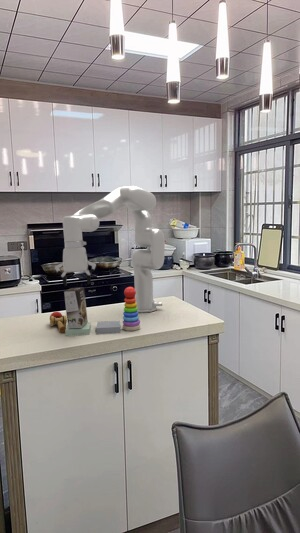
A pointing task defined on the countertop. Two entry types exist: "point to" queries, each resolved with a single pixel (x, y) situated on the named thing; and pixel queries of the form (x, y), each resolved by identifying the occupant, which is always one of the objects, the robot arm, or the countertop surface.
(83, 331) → the sage brick
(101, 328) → the grey brick
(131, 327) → the stacking toy
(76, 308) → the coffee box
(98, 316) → the countertop surface
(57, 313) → the kendama
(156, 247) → the robot arm
